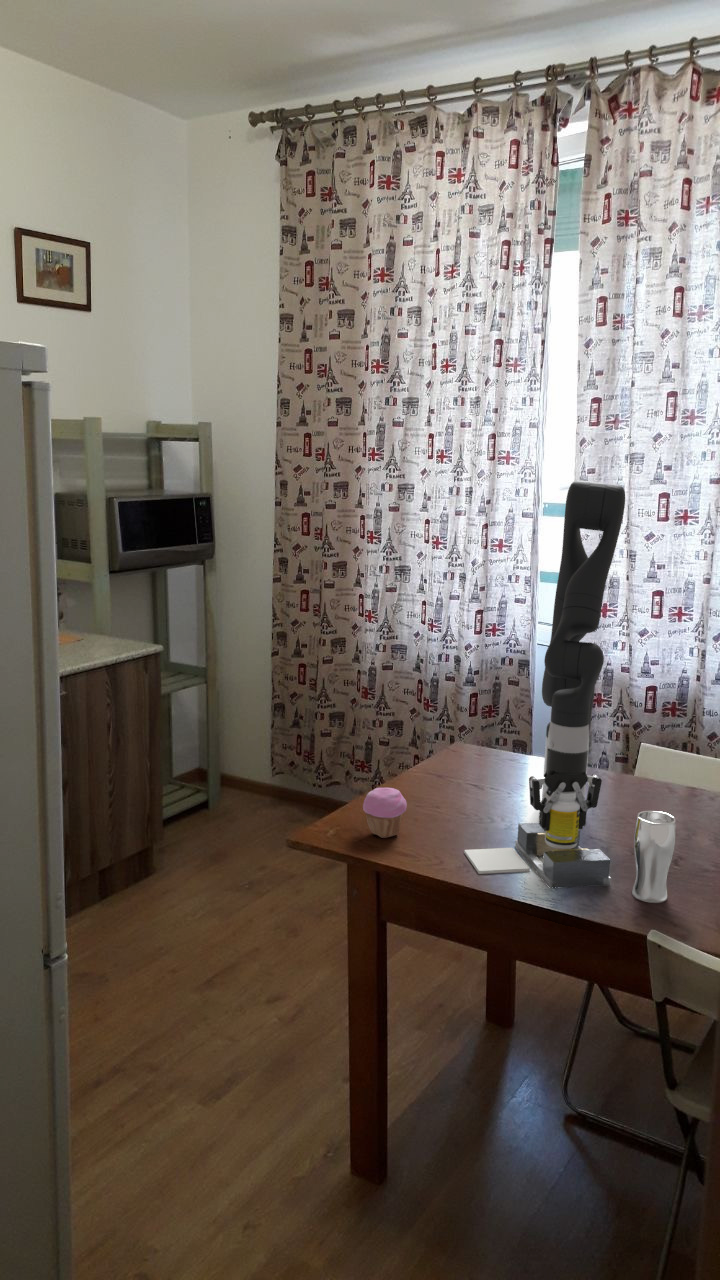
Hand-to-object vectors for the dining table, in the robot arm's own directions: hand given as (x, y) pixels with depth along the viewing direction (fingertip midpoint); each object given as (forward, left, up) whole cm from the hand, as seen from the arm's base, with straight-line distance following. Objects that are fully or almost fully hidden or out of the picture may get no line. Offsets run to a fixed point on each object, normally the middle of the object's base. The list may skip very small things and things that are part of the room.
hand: (561, 828), depth 191 cm
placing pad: (-3, -12, -7) cm, 14 cm away
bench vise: (0, 0, -7) cm, 7 cm away
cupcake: (-19, -31, -8) cm, 37 cm away
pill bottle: (0, 0, -3) cm, 3 cm away
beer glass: (+15, +11, -8) cm, 20 cm away
